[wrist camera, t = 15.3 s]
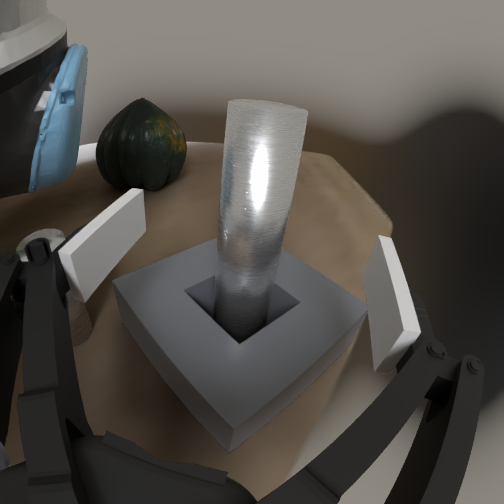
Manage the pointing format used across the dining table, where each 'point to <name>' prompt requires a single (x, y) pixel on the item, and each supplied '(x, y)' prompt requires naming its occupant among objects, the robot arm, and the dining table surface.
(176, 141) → the squash
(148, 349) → the charcoal collar block
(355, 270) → the dining table surface
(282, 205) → the long steel pin
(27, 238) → the short steel pin
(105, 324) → the dining table surface
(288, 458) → the dining table surface
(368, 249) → the dining table surface
